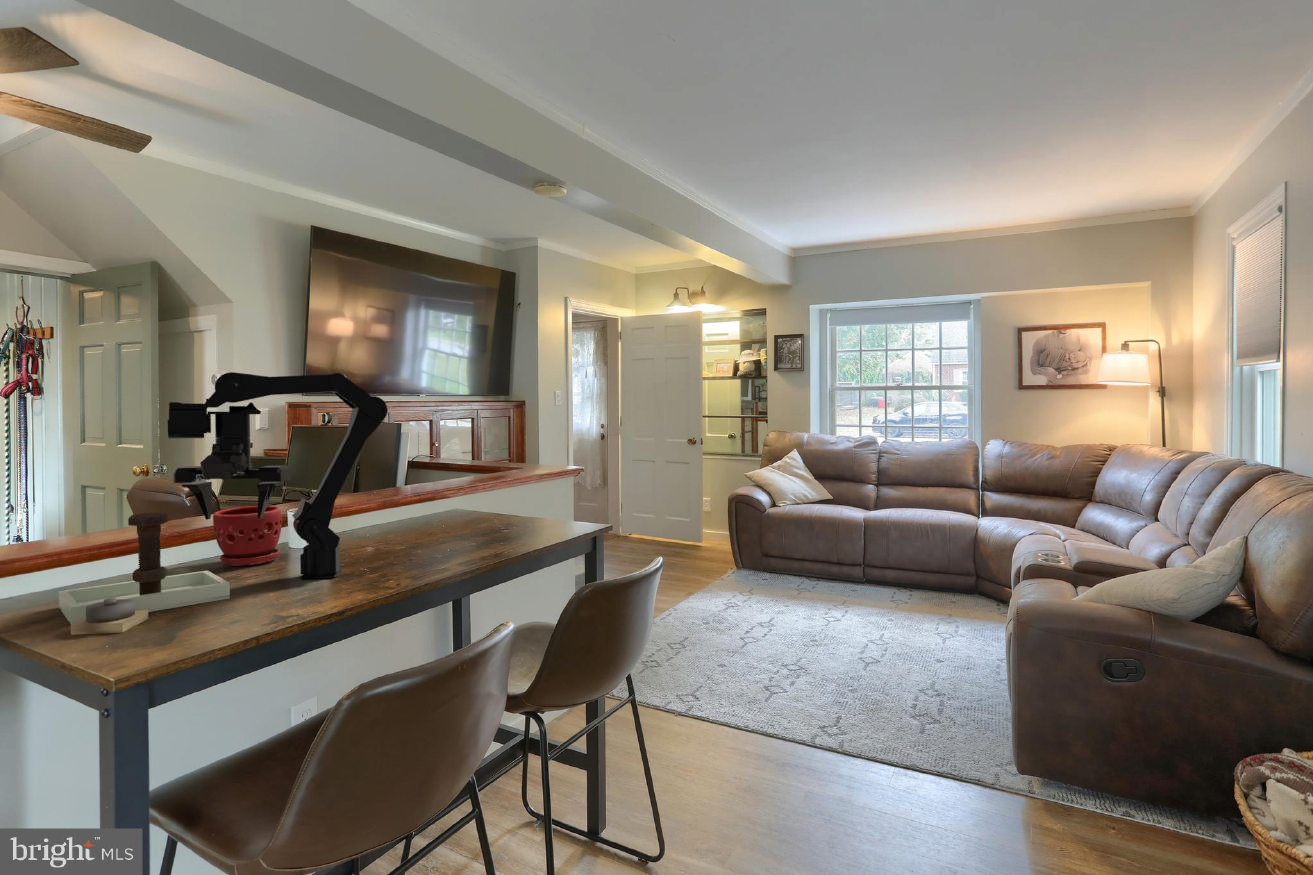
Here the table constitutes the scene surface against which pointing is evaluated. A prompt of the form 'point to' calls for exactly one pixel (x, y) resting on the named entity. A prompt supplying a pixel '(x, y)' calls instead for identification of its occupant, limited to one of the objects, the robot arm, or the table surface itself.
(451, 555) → the table surface
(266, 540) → the plant pot
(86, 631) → the stand
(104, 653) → the table surface
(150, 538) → the bolt
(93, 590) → the tray
